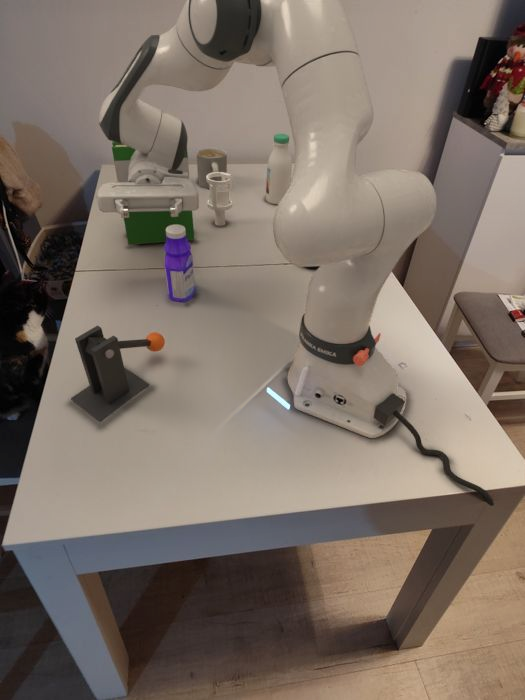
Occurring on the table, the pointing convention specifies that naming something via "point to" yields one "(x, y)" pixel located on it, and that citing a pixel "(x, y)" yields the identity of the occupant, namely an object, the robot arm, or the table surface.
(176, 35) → the robot arm
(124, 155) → the hardback book
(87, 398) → the dark grey lever stand
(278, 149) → the milk bottle
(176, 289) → the bottle
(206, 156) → the coffee mug
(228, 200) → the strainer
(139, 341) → the switch
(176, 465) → the table surface
